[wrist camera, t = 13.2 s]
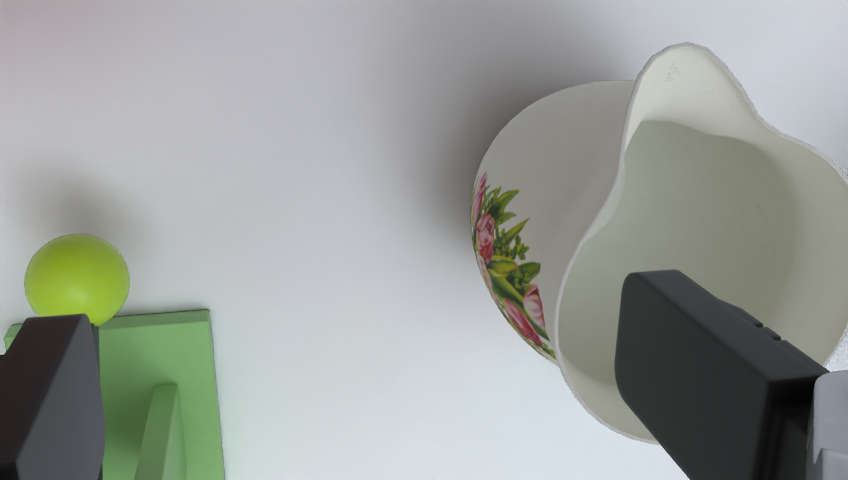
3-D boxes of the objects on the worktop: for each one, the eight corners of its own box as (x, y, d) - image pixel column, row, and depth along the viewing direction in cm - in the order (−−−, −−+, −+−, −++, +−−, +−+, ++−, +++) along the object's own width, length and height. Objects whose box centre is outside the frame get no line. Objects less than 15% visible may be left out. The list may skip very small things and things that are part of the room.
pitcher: (508, 402, 39) (633, 615, 27) (383, 58, 32) (473, 125, 20) (706, 317, 40) (919, 484, 28) (626, -37, 33) (861, -31, 21)
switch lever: (39, 246, 30) (10, 227, 26) (135, 241, 30) (118, 221, 27) (44, 620, 27) (13, 651, 24) (148, 605, 28) (131, 632, 25)
